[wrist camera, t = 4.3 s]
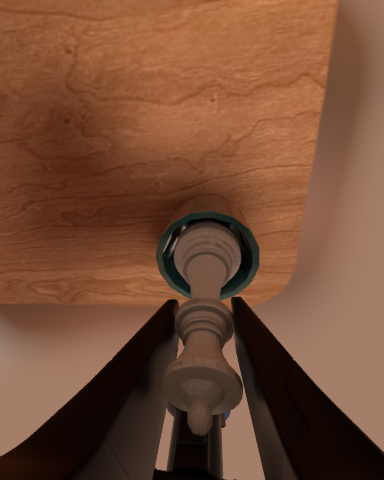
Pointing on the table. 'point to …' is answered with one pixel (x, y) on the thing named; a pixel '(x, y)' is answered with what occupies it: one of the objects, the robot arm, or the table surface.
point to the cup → (216, 211)
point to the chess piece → (204, 326)
